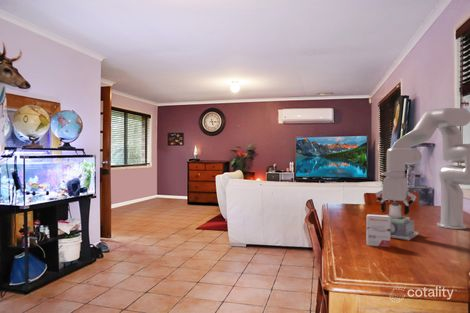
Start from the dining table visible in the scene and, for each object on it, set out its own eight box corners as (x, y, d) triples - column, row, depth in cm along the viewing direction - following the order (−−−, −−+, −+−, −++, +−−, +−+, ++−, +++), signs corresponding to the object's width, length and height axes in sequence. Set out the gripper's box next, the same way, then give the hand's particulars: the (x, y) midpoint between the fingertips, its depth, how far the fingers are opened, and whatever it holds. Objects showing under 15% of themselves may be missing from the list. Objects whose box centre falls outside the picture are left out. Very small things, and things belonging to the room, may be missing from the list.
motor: (380, 228, 162) (380, 212, 162) (418, 234, 151) (418, 217, 151) (368, 234, 150) (369, 216, 150) (408, 240, 139) (408, 222, 139)
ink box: (389, 244, 133) (389, 215, 133) (390, 247, 128) (391, 217, 128) (365, 242, 135) (366, 213, 135) (366, 245, 131) (367, 215, 131)
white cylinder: (390, 219, 155) (391, 202, 155) (402, 220, 151) (402, 203, 151) (387, 220, 151) (387, 203, 151) (399, 222, 147) (399, 204, 147)
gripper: (373, 174, 154) (372, 211, 154) (414, 176, 143) (413, 216, 143) (378, 174, 160) (377, 209, 160) (418, 175, 148) (418, 214, 148)
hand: (394, 212), depth 151 cm, fingers open, 9 cm apart
